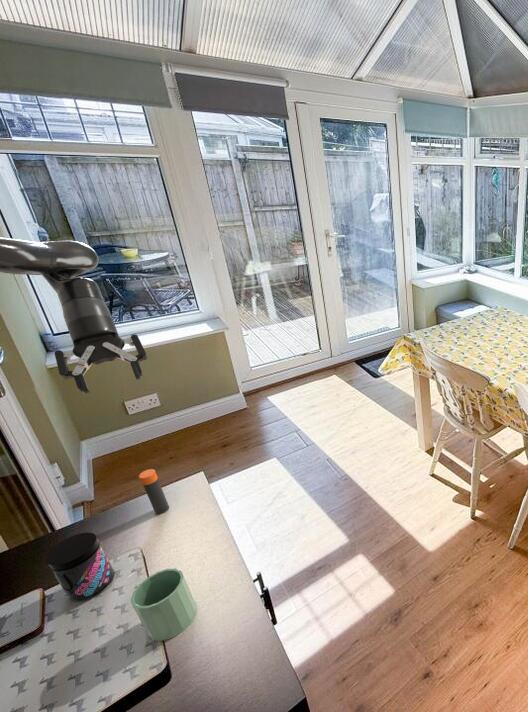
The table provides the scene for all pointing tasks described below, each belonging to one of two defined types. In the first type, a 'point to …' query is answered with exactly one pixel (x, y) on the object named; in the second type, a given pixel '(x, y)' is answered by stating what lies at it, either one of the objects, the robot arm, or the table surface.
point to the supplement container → (80, 566)
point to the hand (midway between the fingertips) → (113, 384)
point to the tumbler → (164, 604)
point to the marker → (154, 491)
